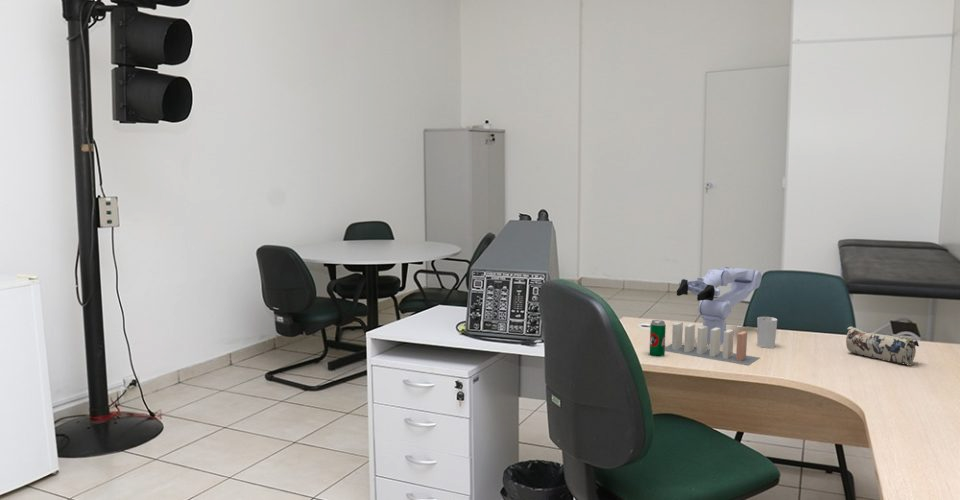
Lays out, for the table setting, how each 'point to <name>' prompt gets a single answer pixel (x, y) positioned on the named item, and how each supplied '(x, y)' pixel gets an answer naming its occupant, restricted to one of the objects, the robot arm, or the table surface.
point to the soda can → (657, 338)
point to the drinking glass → (766, 331)
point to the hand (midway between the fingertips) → (687, 295)
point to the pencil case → (881, 346)
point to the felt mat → (732, 359)
